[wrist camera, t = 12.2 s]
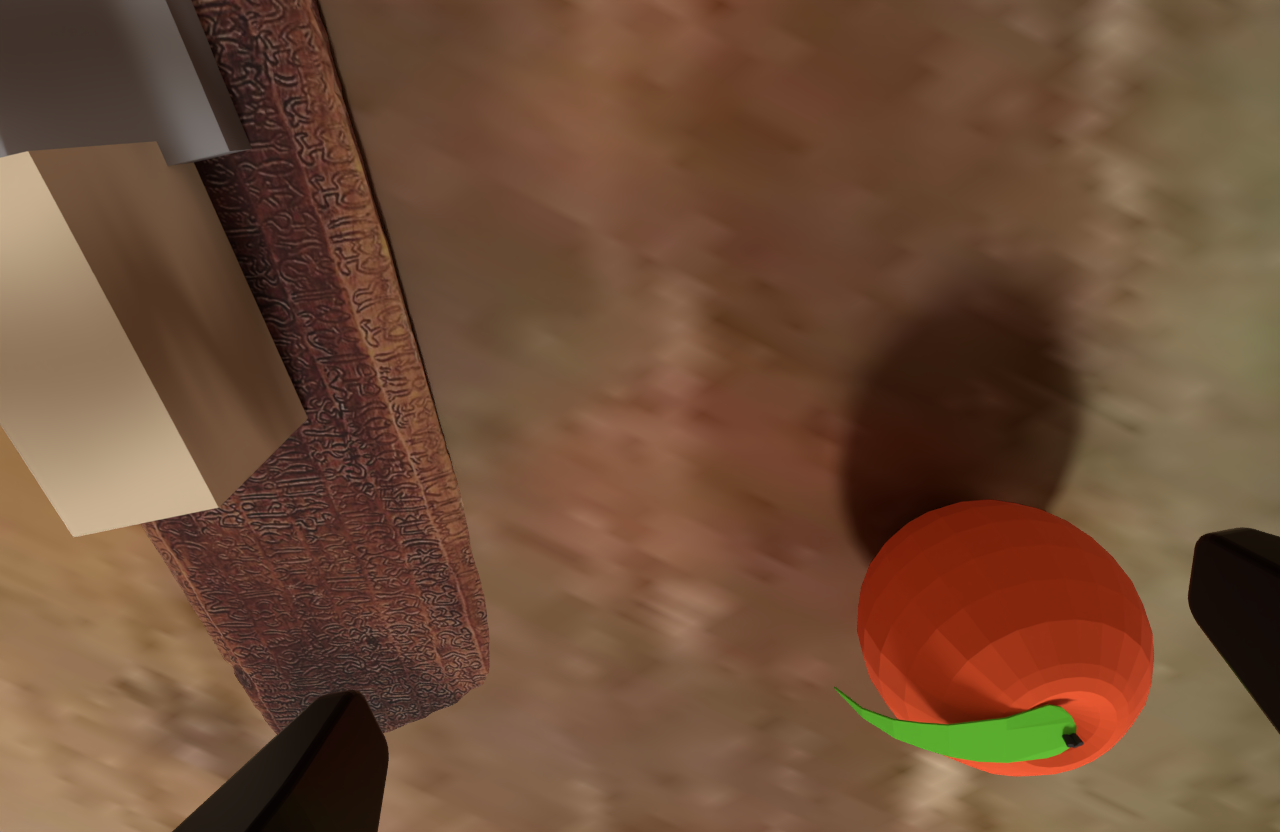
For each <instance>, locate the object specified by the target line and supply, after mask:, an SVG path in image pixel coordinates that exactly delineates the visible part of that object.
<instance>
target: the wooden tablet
mask: <svg viewBox="0 0 1280 832" xmlns="http://www.w3.org/2000/svg"><path fill="white" fill-rule="evenodd" d="M191 1H192V4H193V6H194V8H195V11H196V13H197V16H198V18H199V21H200V23H201V26H202V28H203V30H204V33H205V35H206V38H207V40H208V43H209V45H210V48H211V51H212V53H213V56H214V58H215V61H216V63H217V66H218V69H219V71H220V73H221V76H222V78H223V80H224V83H225V85H226V88H227V90H228V92H229V95H230V97H231V100H232V102H233V105H234V107H235V110H236V112H237V114H238V117H239V119H240V122H241V124H242V126H243V129H244V131H245V134H246V136H247V138H248V141H249V143H250V146H251V148H252V149H249V150H244V151H240V152H236V153H232V154H227V155H223V156H219V157H215V158H211V159H206V160H202V161H198V162H194V164H195V167H196V169H197V171H198V173H199V176H200V178H201V180H202V182H203V185H204V187H205V189H206V191H207V193H208V196H209V198H210V200H211V202H212V205H213V207H214V209H215V211H216V214H217V216H218V218H219V220H220V223H221V225H222V227H223V229H224V232H225V234H226V236H227V238H228V241H229V243H230V245H231V247H232V249H233V252H234V254H235V256H236V258H237V261H238V263H239V265H240V267H241V270H242V272H243V274H244V276H245V279H246V281H247V283H248V285H249V288H250V290H251V292H252V294H253V297H254V299H255V301H256V303H257V306H258V308H259V310H260V312H261V314H262V317H263V319H264V321H265V323H266V326H267V328H268V330H269V332H270V335H271V337H272V339H273V341H274V344H275V346H276V348H277V350H278V353H279V355H280V357H281V359H282V362H283V364H284V366H285V368H286V370H287V373H288V375H289V377H290V379H291V382H292V384H293V386H294V388H295V391H296V393H297V395H298V397H299V400H300V402H301V404H302V406H303V409H304V411H305V413H306V415H307V419H306V420H305V421H304V422H303V423H302V424H301V425H300V426H299V427H298V428H297V429H296V430H295V431H294V432H293V433H292V434H291V435H290V436H289V437H288V438H287V439H286V440H285V441H284V442H283V444H282V445H281V446H280V447H279V448H278V449H277V450H276V451H275V452H274V453H273V454H272V455H271V456H270V457H269V458H268V459H267V460H266V461H265V462H264V463H263V464H262V465H261V466H260V467H259V468H258V469H257V470H256V471H255V472H254V473H253V474H252V475H251V476H250V477H249V478H248V479H247V480H246V481H245V482H244V483H243V484H242V485H241V486H240V487H239V488H238V489H237V490H236V491H235V492H234V493H233V494H232V495H231V496H230V497H229V498H228V499H227V500H226V501H225V502H224V503H223V504H222V505H221V506H220V507H219V508H214V509H210V510H205V511H200V512H195V513H190V514H185V515H180V516H175V517H170V518H165V519H161V520H156V521H151V522H146V523H141V526H142V527H143V529H144V530H145V532H146V534H147V535H148V537H149V538H150V540H151V541H152V543H153V544H154V546H155V547H156V549H157V550H158V552H159V554H160V555H161V557H162V558H163V560H164V561H165V563H166V565H167V566H168V568H169V569H170V571H171V572H172V574H173V576H174V578H175V579H176V581H177V582H178V584H179V585H180V587H181V588H182V590H183V591H184V593H185V595H186V597H187V599H188V601H189V603H190V605H191V606H192V608H193V609H194V611H195V612H196V613H197V615H198V616H199V618H200V620H201V621H202V622H203V624H204V626H205V628H206V630H207V632H208V634H209V635H210V636H211V638H212V639H213V641H214V643H215V645H216V646H217V648H218V650H219V652H220V653H221V655H222V657H223V658H224V660H225V661H227V662H228V663H229V664H230V665H232V666H233V668H234V674H235V676H236V678H237V679H238V681H239V682H240V684H241V685H242V686H243V688H244V689H245V691H246V693H247V694H248V696H249V697H250V699H251V700H252V702H253V704H254V706H255V707H256V708H257V709H258V710H259V711H260V712H261V714H262V715H263V717H264V719H265V721H266V722H267V723H268V724H269V726H270V727H271V728H272V729H273V730H274V732H275V733H276V734H279V733H280V732H281V731H282V730H283V729H284V728H285V727H286V726H287V725H288V724H289V723H290V722H292V721H293V720H294V719H295V718H296V717H297V716H298V715H299V714H300V713H301V712H302V711H303V710H305V709H306V708H307V707H308V706H309V705H310V704H311V703H312V702H313V701H314V700H316V699H317V698H318V697H320V696H322V695H325V694H329V693H335V692H340V691H346V690H358V691H359V692H361V693H362V694H363V695H364V697H365V698H366V700H367V702H368V704H369V706H370V708H371V710H372V712H373V714H374V716H375V718H376V720H377V722H378V724H379V726H380V728H381V730H382V732H383V733H385V732H390V731H392V730H395V729H397V728H399V727H401V726H404V725H406V724H408V723H411V722H414V721H417V720H419V719H422V718H426V717H427V716H428V715H429V714H431V713H432V712H434V711H437V710H440V709H442V708H446V707H449V706H451V705H453V704H455V703H457V702H458V701H459V700H460V699H461V698H462V697H463V696H464V695H465V694H467V693H468V692H469V691H470V690H471V689H474V688H476V687H478V686H480V685H482V684H483V683H484V681H485V679H486V677H487V675H488V673H489V630H488V623H487V612H486V605H485V597H484V594H483V591H482V589H481V581H480V578H479V574H478V571H477V568H476V565H475V562H474V559H473V555H472V550H471V546H470V542H469V541H470V538H469V532H468V527H467V523H466V518H465V514H464V508H463V501H462V498H461V494H460V490H459V487H458V483H457V479H456V477H455V474H454V471H453V467H452V463H451V460H450V457H449V454H448V452H447V448H446V444H445V440H444V436H443V433H442V430H441V427H440V424H439V421H438V417H437V413H436V409H435V405H434V402H433V399H432V397H431V394H430V390H429V387H428V383H427V380H426V376H425V373H424V369H423V366H422V363H421V359H420V355H419V352H418V348H417V345H416V342H415V338H414V335H413V332H412V329H411V325H410V321H409V318H408V314H407V311H406V308H405V304H404V300H403V296H402V293H401V289H400V286H399V283H398V279H397V276H396V272H395V268H394V264H393V260H392V256H391V252H390V248H389V244H388V241H387V238H386V236H385V234H384V232H383V229H382V225H381V222H380V219H379V215H378V212H377V209H376V206H375V203H374V200H373V196H372V193H371V189H370V185H369V182H368V178H367V174H366V171H365V167H364V163H363V160H362V156H361V153H360V150H359V148H358V145H357V142H356V139H355V135H354V132H353V128H352V125H351V121H350V118H349V115H348V112H347V109H346V106H345V103H344V100H343V97H342V87H341V84H340V81H339V78H338V75H337V73H336V70H335V66H334V62H333V58H332V55H331V52H330V46H329V39H328V35H327V33H326V30H325V28H324V25H323V23H322V20H321V18H320V15H319V11H318V7H317V3H316V0H191Z"/></svg>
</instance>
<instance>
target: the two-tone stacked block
mask: <svg viewBox="0 0 1280 832" xmlns="http://www.w3.org/2000/svg"><path fill="white" fill-rule="evenodd" d="M249 149H252V148H251V146H250V143H249V141H248V138H247V136H246V134H245V131H244V129H243V126H242V124H241V122H240V119H239V117H238V114H237V112H236V110H235V107H234V105H233V102H232V100H231V97H230V95H229V92H228V90H227V88H226V85H225V83H224V80H223V78H222V76H221V73H220V71H219V69H218V66H217V63H216V61H215V58H214V56H213V53H212V51H211V48H210V45H209V43H208V40H207V38H206V35H205V33H204V30H203V28H202V26H201V23H200V21H199V18H198V16H197V13H196V11H195V8H194V6H193V4H192V1H191V0H0V425H1V426H2V428H3V429H4V431H5V432H6V434H7V435H8V437H9V439H10V440H11V442H12V443H13V445H14V446H15V448H16V449H17V451H18V452H19V454H20V456H21V457H22V459H23V460H24V462H25V463H26V465H27V466H28V468H29V469H30V471H31V473H32V474H33V476H34V477H35V479H36V480H37V482H38V483H39V485H40V486H41V488H42V490H43V491H44V493H45V494H46V496H47V497H48V499H49V500H50V502H51V503H52V505H53V507H54V508H55V510H56V511H57V513H58V514H59V516H60V517H61V519H62V520H63V522H64V524H65V525H66V527H67V528H68V530H69V531H70V533H71V534H72V536H73V537H77V536H82V535H87V534H92V533H97V532H102V531H107V530H112V529H116V528H121V527H126V526H131V525H136V524H141V523H146V522H151V521H156V520H161V519H165V518H170V517H175V516H180V515H185V514H190V513H195V512H200V511H205V510H210V509H214V508H219V507H220V506H221V505H222V504H223V503H224V502H225V501H226V500H227V499H228V498H229V497H230V496H231V495H232V494H233V493H234V492H235V491H236V490H237V489H238V488H239V487H240V486H241V485H242V484H243V483H244V482H245V481H246V480H247V479H248V478H249V477H250V476H251V475H252V474H253V473H254V472H255V471H256V470H257V469H258V468H259V467H260V466H261V465H262V464H263V463H264V462H265V461H266V460H267V459H268V458H269V457H270V456H271V455H272V454H273V453H274V452H275V451H276V450H277V449H278V448H279V447H280V446H281V445H282V444H283V442H284V441H285V440H286V439H287V438H288V437H289V436H290V435H291V434H292V433H293V432H294V431H295V430H296V429H297V428H298V427H299V426H300V425H301V424H302V423H303V422H304V421H305V420H306V419H307V415H306V413H305V411H304V409H303V406H302V404H301V402H300V400H299V397H298V395H297V393H296V391H295V388H294V386H293V384H292V382H291V379H290V377H289V375H288V373H287V370H286V368H285V366H284V364H283V362H282V359H281V357H280V355H279V353H278V350H277V348H276V346H275V344H274V341H273V339H272V337H271V335H270V332H269V330H268V328H267V326H266V323H265V321H264V319H263V317H262V314H261V312H260V310H259V308H258V306H257V303H256V301H255V299H254V297H253V294H252V292H251V290H250V288H249V285H248V283H247V281H246V279H245V276H244V274H243V272H242V270H241V267H240V265H239V263H238V261H237V258H236V256H235V254H234V252H233V249H232V247H231V245H230V243H229V241H228V238H227V236H226V234H225V232H224V229H223V227H222V225H221V223H220V220H219V218H218V216H217V214H216V211H215V209H214V207H213V205H212V202H211V200H210V198H209V196H208V193H207V191H206V189H205V187H204V185H203V182H202V180H201V178H200V176H199V173H198V171H197V169H196V167H195V164H194V162H198V161H202V160H206V159H211V158H215V157H219V156H223V155H227V154H232V153H236V152H240V151H244V150H249Z"/></svg>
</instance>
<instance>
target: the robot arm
mask: <svg viewBox="0 0 1280 832" xmlns="http://www.w3.org/2000/svg"><path fill="white" fill-rule="evenodd" d="M1188 602H1189V607H1190V610H1191V613H1192V615H1193V617H1194V619H1195V620H1196V622H1197V624H1198V625H1199V626H1200V628H1201V629H1202V630H1203V632H1204V633H1205V634H1206V636H1207V637H1208V638H1209V640H1210V641H1211V642H1212V644H1213V645H1214V646H1215V648H1216V649H1217V651H1218V652H1219V653H1220V655H1221V656H1222V657H1223V659H1224V660H1225V661H1226V663H1227V664H1228V665H1229V667H1230V668H1231V669H1232V671H1233V672H1234V673H1235V675H1236V676H1237V677H1238V679H1239V680H1240V681H1241V683H1242V684H1243V686H1244V687H1245V688H1246V690H1247V691H1248V692H1249V694H1250V695H1251V696H1252V698H1253V699H1254V700H1255V702H1256V703H1257V704H1258V706H1259V707H1260V708H1261V710H1262V711H1263V712H1264V714H1265V715H1266V716H1267V718H1268V719H1269V721H1270V722H1271V723H1272V725H1273V726H1274V727H1275V729H1276V730H1277V731H1278V733H1279V734H1280V537H1279V536H1275V535H1272V534H1269V533H1265V532H1262V531H1259V530H1255V529H1251V528H1234V529H1228V530H1223V531H1217V532H1212V533H1207V534H1205V535H1203V536H1201V537H1200V538H1199V540H1198V541H1197V542H1196V545H1195V549H1194V556H1193V563H1192V570H1191V577H1190V584H1189V591H1188ZM388 761H389V753H388V746H387V742H386V739H385V736H384V734H383V732H382V730H381V728H380V726H379V724H378V722H377V720H376V718H375V716H374V714H373V712H372V710H371V708H370V706H369V704H368V702H367V700H366V698H365V697H364V695H363V694H362V693H361V692H359V691H358V690H346V691H340V692H335V693H329V694H325V695H322V696H320V697H318V698H317V699H316V700H314V701H313V702H312V703H311V704H310V705H309V706H308V707H307V708H306V709H305V710H303V711H302V712H301V713H300V714H299V715H298V716H297V717H296V718H295V719H294V720H293V721H292V722H290V723H289V724H288V725H287V726H286V727H285V728H284V729H283V730H282V731H281V732H280V733H279V734H277V735H276V736H275V737H274V738H273V739H272V740H271V741H270V742H269V743H268V744H267V745H266V746H264V747H263V748H262V749H261V750H260V751H259V752H258V753H257V754H256V755H255V756H254V757H253V758H251V759H250V760H249V761H248V762H247V763H246V764H245V765H244V766H243V767H242V768H241V769H240V770H239V771H237V772H236V773H235V774H234V775H233V776H232V777H231V778H230V779H229V780H228V781H227V782H226V783H224V784H223V785H222V786H221V787H220V788H219V789H218V790H217V791H216V792H215V793H214V794H212V795H211V796H210V797H209V798H208V799H207V800H206V801H205V802H204V803H203V804H202V805H201V806H199V807H198V808H197V809H196V810H195V811H194V812H193V813H192V814H191V815H190V816H189V817H188V818H186V819H185V820H184V821H183V822H182V823H181V824H180V825H179V826H178V827H177V828H176V829H175V830H173V831H172V832H378V826H379V820H380V813H381V807H382V800H383V794H384V788H385V781H386V775H387V769H388Z"/></svg>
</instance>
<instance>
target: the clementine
mask: <svg viewBox="0 0 1280 832" xmlns="http://www.w3.org/2000/svg"><path fill="white" fill-rule="evenodd" d="M857 632H858V636H859V640H860V644H861V648H862V652H863V656H864V659H865V663H866V666H867V670H868V673H869V676H870V679H871V681H872V682H873V684H874V685H875V687H876V688H877V690H878V691H879V693H880V695H881V696H882V698H883V699H884V701H885V702H886V704H887V705H888V706H889V708H890V709H891V710H892V712H893V713H894V714H895V716H896V717H897V718H898V719H893V718H890V717H887V716H884V715H881V714H879V713H876V712H873V711H870V710H867V709H865V708H862V707H861V706H860V705H858V704H857V703H856V702H854V701H853V700H852V699H850V698H849V697H848V696H847V695H845V694H844V693H843V692H841V691H840V690H839V689H837V688H836V687H834V688H835V689H836V691H837V692H838V693H839V694H840V695H841V696H842V697H843V698H844V699H845V700H846V701H847V702H848V703H849V704H850V705H851V706H852V707H853V708H854V709H855V710H856V711H857V713H858V714H859V715H860V716H861V717H862V718H864V719H865V720H867V721H868V722H870V723H872V724H873V725H875V726H876V727H878V728H879V729H881V730H883V731H884V732H886V733H887V734H889V735H890V736H892V737H894V738H896V739H898V740H901V741H904V742H906V743H909V744H911V745H914V746H917V747H919V748H922V749H925V750H929V751H932V752H935V753H938V754H942V755H944V756H946V757H949V758H951V759H954V760H956V761H959V762H961V763H964V764H966V765H969V766H971V767H974V768H977V769H980V770H983V771H986V772H988V773H991V774H999V775H1008V776H1036V775H1049V774H1057V773H1061V772H1065V771H1069V770H1073V769H1076V768H1078V767H1080V766H1083V765H1085V764H1087V763H1089V762H1092V761H1094V760H1095V759H1097V758H1098V757H1100V756H1101V755H1103V754H1104V753H1106V752H1107V751H1109V750H1110V749H1111V748H1112V747H1113V746H1114V745H1115V744H1116V743H1117V742H1118V741H1119V740H1120V739H1121V738H1122V737H1123V736H1124V735H1125V733H1126V732H1127V731H1128V730H1129V728H1130V727H1131V726H1132V725H1133V723H1134V722H1135V720H1136V718H1137V717H1138V715H1139V714H1140V712H1141V711H1142V709H1143V707H1144V706H1145V704H1146V701H1147V697H1148V694H1149V690H1150V687H1151V682H1152V672H1153V662H1154V649H1153V634H1152V630H1151V627H1150V624H1149V621H1148V618H1147V615H1146V612H1145V609H1144V606H1143V603H1142V601H1141V599H1140V597H1139V595H1138V593H1137V591H1136V589H1135V587H1134V585H1133V583H1132V581H1131V580H1130V578H1129V577H1128V576H1127V575H1126V573H1125V572H1124V571H1123V569H1122V568H1121V567H1120V566H1119V564H1118V563H1117V562H1116V561H1115V559H1114V558H1113V557H1112V556H1111V555H1110V554H1109V553H1108V552H1107V551H1106V550H1105V549H1104V548H1103V547H1102V546H1100V545H1099V544H1098V543H1097V542H1096V541H1095V540H1094V539H1093V538H1092V537H1090V536H1089V535H1087V534H1086V533H1084V532H1083V531H1081V530H1080V529H1078V528H1077V527H1075V526H1074V525H1072V524H1071V523H1069V522H1068V521H1066V520H1063V519H1061V518H1059V517H1057V516H1055V515H1052V514H1050V513H1048V512H1046V511H1043V510H1041V509H1038V508H1034V507H1029V506H1025V505H1021V504H1017V503H1011V502H1004V501H998V500H991V499H988V500H976V501H964V502H959V503H955V504H952V505H948V506H945V507H942V508H939V509H935V510H932V511H929V512H927V513H925V514H923V515H921V516H919V517H918V518H916V519H914V520H912V521H910V522H908V523H907V524H906V525H905V526H904V527H902V528H901V529H900V530H899V531H898V532H897V533H895V534H894V535H893V536H892V537H891V538H890V539H889V540H888V541H887V542H886V543H885V544H884V546H883V547H882V548H881V550H880V551H879V552H878V554H877V555H876V557H875V558H874V559H873V561H872V562H871V563H870V565H869V568H868V570H867V573H866V576H865V578H864V581H863V584H862V586H861V592H860V599H859V606H858V623H857Z"/></svg>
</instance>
